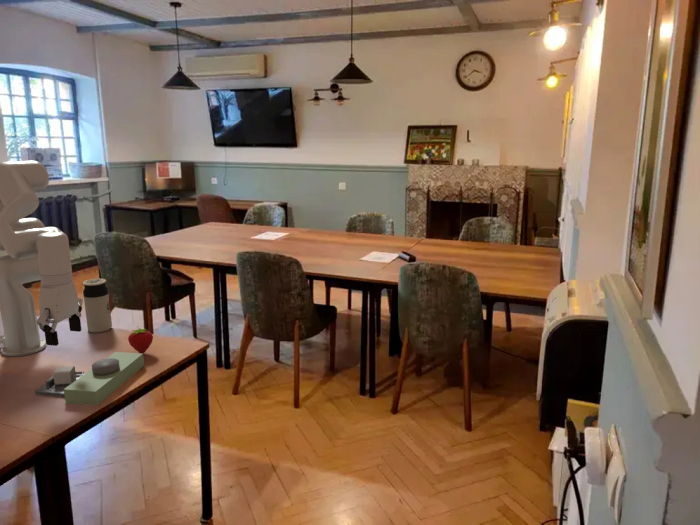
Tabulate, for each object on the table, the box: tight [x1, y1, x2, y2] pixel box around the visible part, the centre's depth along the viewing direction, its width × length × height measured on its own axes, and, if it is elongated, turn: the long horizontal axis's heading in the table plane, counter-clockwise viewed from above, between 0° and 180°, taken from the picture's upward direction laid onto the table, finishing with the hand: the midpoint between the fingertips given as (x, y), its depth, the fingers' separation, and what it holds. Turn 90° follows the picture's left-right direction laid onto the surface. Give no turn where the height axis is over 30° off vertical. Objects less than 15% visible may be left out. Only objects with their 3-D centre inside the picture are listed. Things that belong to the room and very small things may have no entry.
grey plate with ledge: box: [34, 372, 86, 398], centre depth 146 cm, size 10×12×2 cm
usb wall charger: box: [52, 365, 85, 385], centre depth 146 cm, size 4×7×4 cm, turn 100°
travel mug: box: [82, 278, 113, 334], centre depth 185 cm, size 8×8×18 cm
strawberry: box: [127, 327, 154, 355], centre depth 166 cm, size 6×8×10 cm
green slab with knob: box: [64, 351, 145, 406], centre depth 147 cm, size 9×24×6 cm, turn 173°
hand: (64, 337), depth 143 cm, fingers open, 9 cm apart
